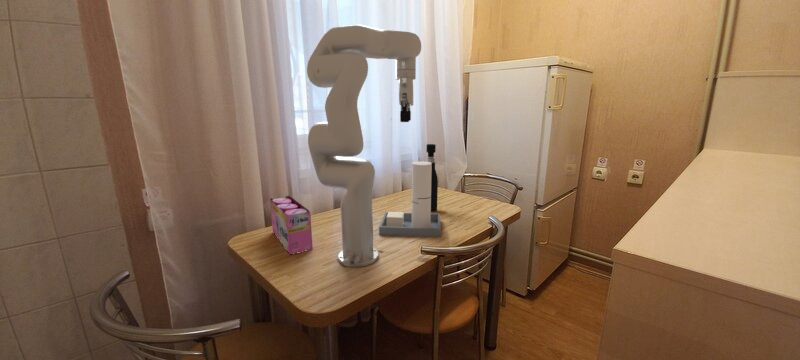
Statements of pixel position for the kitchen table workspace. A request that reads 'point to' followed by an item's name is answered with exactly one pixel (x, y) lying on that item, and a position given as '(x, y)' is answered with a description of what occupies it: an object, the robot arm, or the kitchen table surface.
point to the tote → (408, 229)
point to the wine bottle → (433, 177)
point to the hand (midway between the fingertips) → (405, 121)
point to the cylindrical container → (421, 194)
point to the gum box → (291, 224)
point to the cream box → (395, 219)
